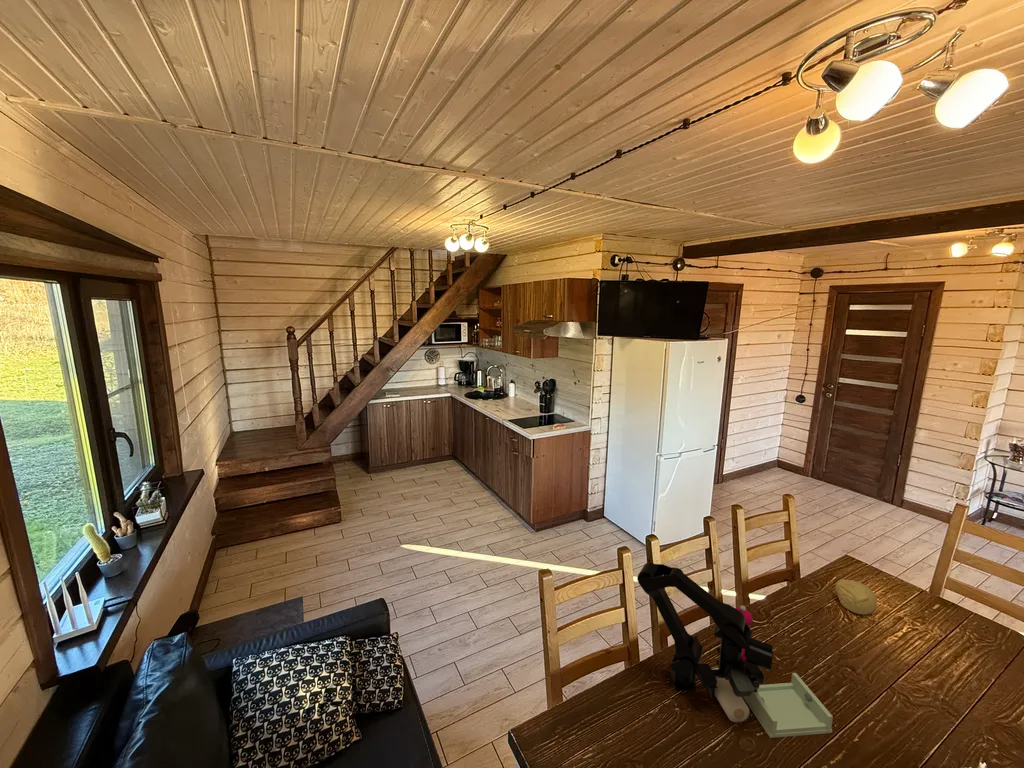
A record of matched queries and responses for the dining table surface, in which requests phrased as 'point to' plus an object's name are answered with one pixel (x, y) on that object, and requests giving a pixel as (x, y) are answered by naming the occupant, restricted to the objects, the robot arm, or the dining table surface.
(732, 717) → the kitchen roll
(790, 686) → the roll cradle
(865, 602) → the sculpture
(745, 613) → the pepper mill
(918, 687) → the dining table surface
